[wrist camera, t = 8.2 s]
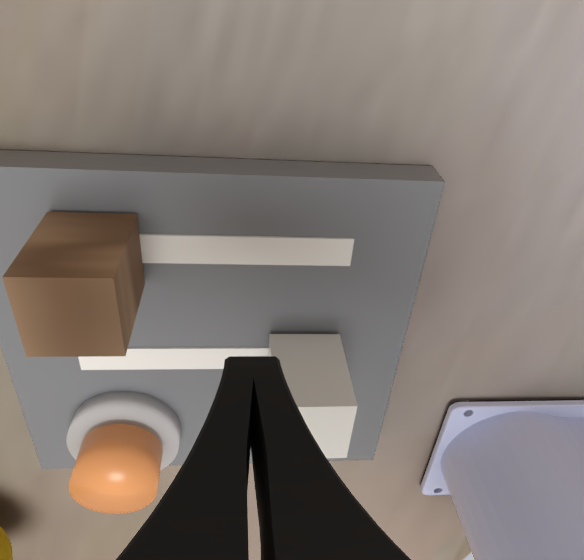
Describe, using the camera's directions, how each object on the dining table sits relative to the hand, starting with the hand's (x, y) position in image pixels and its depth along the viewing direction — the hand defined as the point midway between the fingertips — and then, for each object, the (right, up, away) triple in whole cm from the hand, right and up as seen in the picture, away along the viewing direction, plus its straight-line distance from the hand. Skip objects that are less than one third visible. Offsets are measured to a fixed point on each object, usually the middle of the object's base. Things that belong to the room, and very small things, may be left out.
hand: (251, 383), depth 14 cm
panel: (-3, +1, +9) cm, 10 cm away
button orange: (-7, -5, +10) cm, 13 cm away
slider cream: (+2, -1, +9) cm, 9 cm away
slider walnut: (-6, +4, +5) cm, 9 cm away
